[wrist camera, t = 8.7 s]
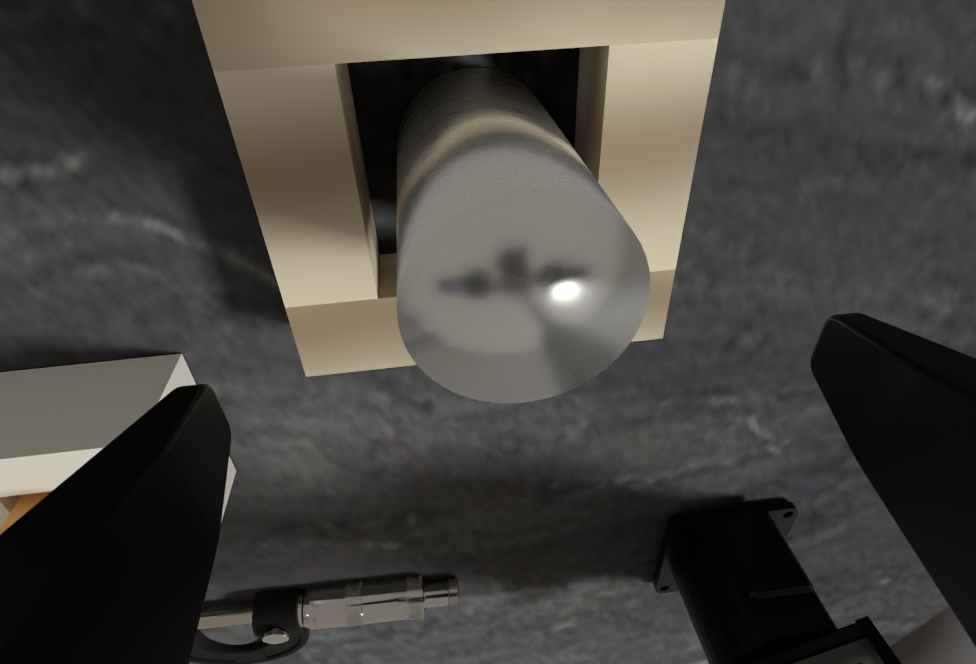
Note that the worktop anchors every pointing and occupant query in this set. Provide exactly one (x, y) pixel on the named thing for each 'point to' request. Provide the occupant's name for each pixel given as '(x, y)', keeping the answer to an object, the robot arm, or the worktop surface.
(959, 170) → the worktop surface
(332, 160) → the pocket plate
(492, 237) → the cylinder
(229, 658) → the micrometer
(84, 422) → the box
